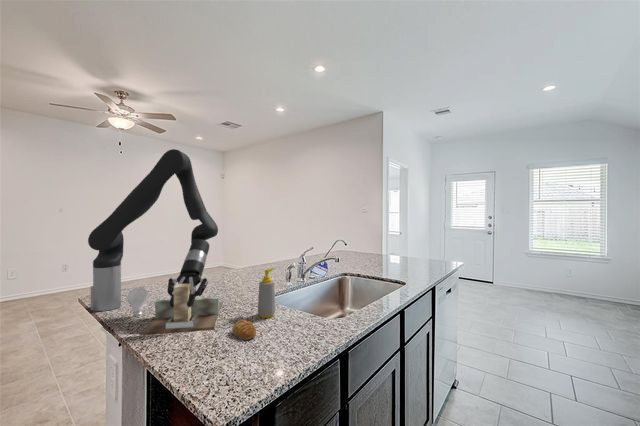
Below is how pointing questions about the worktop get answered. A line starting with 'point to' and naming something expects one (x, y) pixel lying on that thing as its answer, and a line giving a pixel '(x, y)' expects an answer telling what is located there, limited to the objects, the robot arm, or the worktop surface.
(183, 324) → the keeper socket
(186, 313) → the block
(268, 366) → the worktop surface
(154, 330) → the door mockup
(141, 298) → the light bulb
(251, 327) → the pastry
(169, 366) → the worktop surface
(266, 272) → the soap bottle
